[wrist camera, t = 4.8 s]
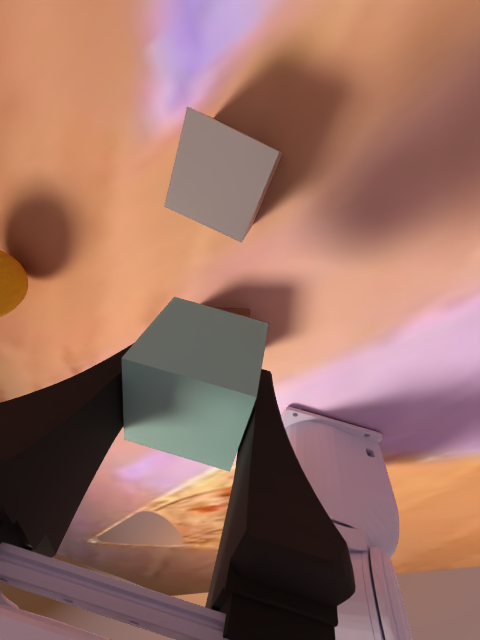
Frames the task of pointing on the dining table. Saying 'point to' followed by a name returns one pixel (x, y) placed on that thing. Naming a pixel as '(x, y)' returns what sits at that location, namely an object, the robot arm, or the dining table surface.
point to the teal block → (193, 382)
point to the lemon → (11, 283)
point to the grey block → (220, 175)
